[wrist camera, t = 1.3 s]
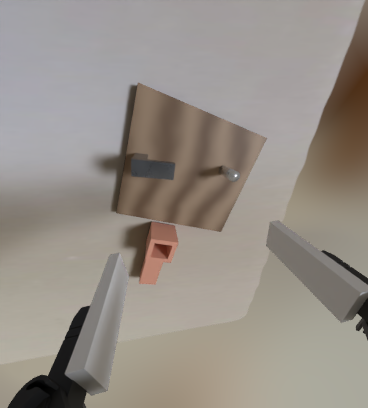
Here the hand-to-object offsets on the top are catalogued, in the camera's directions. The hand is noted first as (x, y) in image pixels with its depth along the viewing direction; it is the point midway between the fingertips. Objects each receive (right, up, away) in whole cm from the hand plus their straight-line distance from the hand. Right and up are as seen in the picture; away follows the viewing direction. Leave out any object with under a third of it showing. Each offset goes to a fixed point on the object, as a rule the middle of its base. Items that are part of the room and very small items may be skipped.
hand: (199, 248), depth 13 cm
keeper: (-7, +12, +15) cm, 20 cm away
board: (0, +10, +17) cm, 20 cm away
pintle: (+6, +11, +18) cm, 22 cm away
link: (-9, -8, +24) cm, 27 cm away
